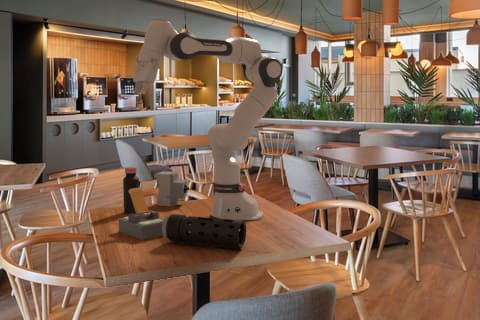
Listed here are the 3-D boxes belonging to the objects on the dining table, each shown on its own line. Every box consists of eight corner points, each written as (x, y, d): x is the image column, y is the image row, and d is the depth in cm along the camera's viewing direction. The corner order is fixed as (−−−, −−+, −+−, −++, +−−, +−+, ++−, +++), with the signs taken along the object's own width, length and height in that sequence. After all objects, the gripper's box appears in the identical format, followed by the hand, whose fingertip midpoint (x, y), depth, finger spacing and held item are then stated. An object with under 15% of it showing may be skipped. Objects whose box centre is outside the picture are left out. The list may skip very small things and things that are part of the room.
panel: (118, 231, 195) (118, 212, 194) (145, 225, 203) (145, 207, 202) (141, 240, 184) (141, 219, 183) (169, 234, 192) (169, 214, 191)
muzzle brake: (237, 254, 169) (238, 223, 167) (161, 246, 177) (160, 216, 176) (246, 245, 178) (246, 216, 176) (173, 238, 186) (172, 210, 185)
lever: (137, 220, 191) (127, 190, 194) (148, 218, 195) (139, 188, 198) (139, 218, 190) (130, 188, 193) (151, 216, 194) (142, 187, 197)
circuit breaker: (186, 206, 237) (185, 174, 235) (157, 205, 240) (156, 173, 238) (191, 203, 245) (190, 172, 243) (162, 202, 247) (161, 171, 245)
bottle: (136, 210, 231) (135, 166, 228) (142, 213, 225) (140, 167, 222) (121, 211, 227) (120, 167, 225) (127, 215, 221) (125, 169, 219)
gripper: (165, 61, 191) (154, 96, 191) (150, 64, 209) (140, 96, 209) (149, 55, 188) (138, 91, 188) (135, 58, 207) (125, 91, 206)
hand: (139, 93), depth 199 cm, fingers open, 8 cm apart
